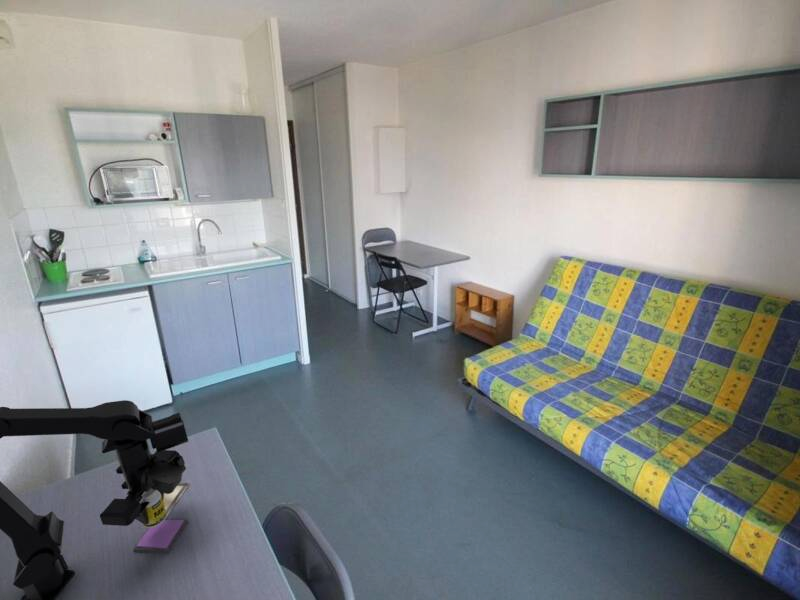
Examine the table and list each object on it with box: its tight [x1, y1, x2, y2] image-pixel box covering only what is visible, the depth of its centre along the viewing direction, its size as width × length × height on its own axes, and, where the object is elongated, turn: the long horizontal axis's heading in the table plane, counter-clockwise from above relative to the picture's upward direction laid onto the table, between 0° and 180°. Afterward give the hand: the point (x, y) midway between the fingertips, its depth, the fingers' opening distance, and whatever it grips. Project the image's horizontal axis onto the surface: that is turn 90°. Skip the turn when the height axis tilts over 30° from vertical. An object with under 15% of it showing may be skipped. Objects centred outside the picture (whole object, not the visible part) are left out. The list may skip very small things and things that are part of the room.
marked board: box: [163, 482, 190, 519], centre depth 107 cm, size 11×11×1 cm
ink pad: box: [132, 518, 189, 554], centre depth 97 cm, size 8×8×1 cm
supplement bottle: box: [142, 487, 168, 529], centre depth 94 cm, size 5×5×8 cm
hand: (153, 513), depth 95 cm, fingers closed on supplement bottle, 5 cm apart
